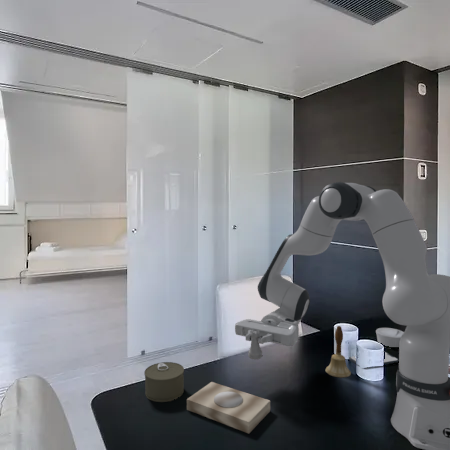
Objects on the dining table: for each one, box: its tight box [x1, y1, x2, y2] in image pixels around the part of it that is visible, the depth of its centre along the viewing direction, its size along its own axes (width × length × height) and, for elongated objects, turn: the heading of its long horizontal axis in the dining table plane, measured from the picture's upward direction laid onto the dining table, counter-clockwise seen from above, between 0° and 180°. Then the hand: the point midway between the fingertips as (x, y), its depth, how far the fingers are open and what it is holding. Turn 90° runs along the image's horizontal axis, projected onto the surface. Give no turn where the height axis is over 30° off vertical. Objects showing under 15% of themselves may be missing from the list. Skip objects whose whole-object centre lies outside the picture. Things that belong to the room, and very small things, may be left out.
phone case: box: [348, 351, 399, 365], centre depth 133 cm, size 9×2×16 cm
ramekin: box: [375, 327, 405, 347], centre depth 149 cm, size 11×11×5 cm
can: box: [144, 361, 185, 403], centre depth 112 cm, size 12×12×7 cm
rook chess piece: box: [247, 330, 263, 361], centre depth 111 cm, size 4×4×8 cm
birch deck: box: [186, 381, 271, 435], centre depth 102 cm, size 20×12×3 cm, turn 57°
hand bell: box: [325, 325, 352, 378], centre depth 125 cm, size 8×8×16 cm
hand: (253, 339), depth 110 cm, fingers closed on rook chess piece, 3 cm apart
